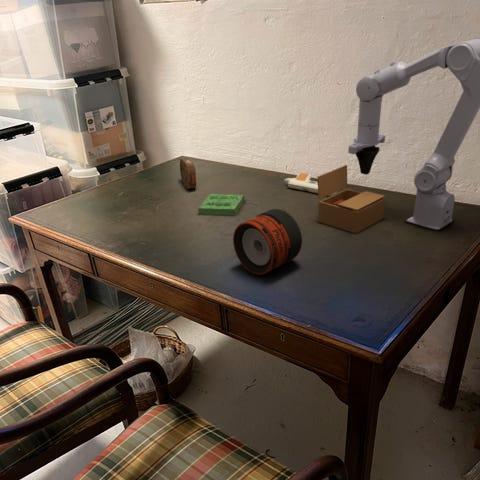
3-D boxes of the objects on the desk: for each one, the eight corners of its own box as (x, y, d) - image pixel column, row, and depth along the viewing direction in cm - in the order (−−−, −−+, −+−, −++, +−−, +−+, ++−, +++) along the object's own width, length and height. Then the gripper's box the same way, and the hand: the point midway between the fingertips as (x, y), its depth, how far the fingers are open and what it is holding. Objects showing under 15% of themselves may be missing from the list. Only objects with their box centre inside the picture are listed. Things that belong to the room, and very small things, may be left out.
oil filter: (234, 266, 124) (230, 215, 117) (268, 248, 131) (266, 200, 124) (273, 282, 116) (272, 229, 109) (307, 263, 123) (308, 212, 116)
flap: (319, 199, 140) (318, 199, 140) (347, 186, 147) (346, 186, 147) (318, 176, 137) (317, 176, 137) (347, 164, 144) (346, 164, 144)
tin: (180, 179, 183) (177, 155, 178) (189, 178, 183) (186, 154, 179) (189, 192, 171) (186, 167, 166) (198, 191, 171) (196, 166, 167)
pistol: (349, 187, 166) (332, 198, 158) (298, 177, 176) (279, 187, 169) (350, 180, 164) (332, 190, 157) (298, 170, 175) (279, 180, 168)
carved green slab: (199, 214, 154) (198, 206, 153) (210, 200, 164) (209, 192, 162) (235, 215, 151) (234, 207, 150) (244, 200, 161) (243, 193, 160)
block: (352, 215, 145) (352, 202, 143) (343, 220, 143) (344, 206, 140) (340, 212, 147) (341, 199, 145) (331, 216, 145) (332, 203, 143)
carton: (318, 221, 144) (318, 199, 140) (345, 208, 151) (347, 186, 147) (355, 233, 136) (357, 209, 132) (383, 218, 143) (385, 195, 139)
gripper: (371, 116, 145) (368, 164, 152) (340, 127, 137) (338, 177, 144) (393, 119, 140) (388, 168, 148) (362, 131, 132) (358, 182, 140)
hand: (365, 173), depth 146 cm, fingers closed
